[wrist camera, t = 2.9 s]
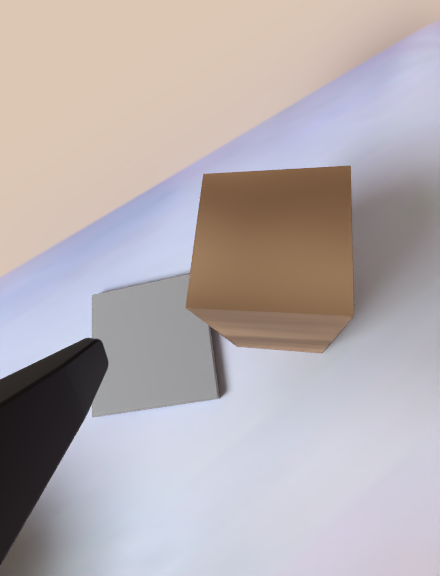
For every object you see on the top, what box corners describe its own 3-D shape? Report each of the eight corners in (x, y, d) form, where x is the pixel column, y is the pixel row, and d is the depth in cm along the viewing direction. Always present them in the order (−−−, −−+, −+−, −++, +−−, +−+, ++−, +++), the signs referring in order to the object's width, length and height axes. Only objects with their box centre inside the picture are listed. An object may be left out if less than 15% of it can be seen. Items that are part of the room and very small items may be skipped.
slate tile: (219, 398, 18) (217, 398, 18) (97, 416, 20) (92, 417, 19) (203, 274, 21) (201, 271, 21) (96, 297, 22) (91, 295, 22)
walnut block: (322, 353, 18) (353, 316, 9) (237, 346, 19) (185, 307, 10) (322, 271, 19) (350, 165, 10) (243, 270, 21) (203, 174, 11)
